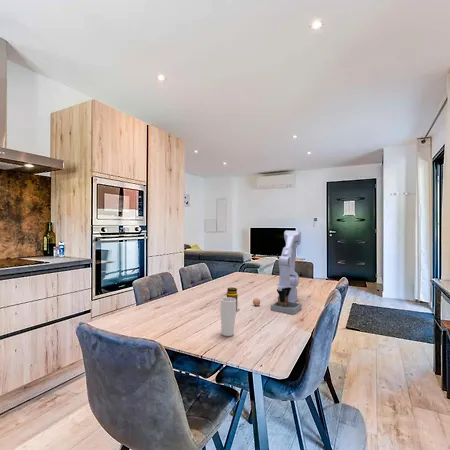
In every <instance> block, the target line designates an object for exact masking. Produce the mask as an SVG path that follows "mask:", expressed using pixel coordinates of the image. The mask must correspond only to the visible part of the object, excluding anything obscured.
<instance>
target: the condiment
mask: <svg viewBox="0 0 450 450" xmlns="http://www.w3.org/2000/svg"><path fill="white" fill-rule="evenodd" d="M238 294H239V293H238V289H237V288H236V287H228V288H227V292H226V297H230V298H235V299H236V312H238V311H239V310H241V309H240V308H238V296H239V295H238ZM226 297H225V298H226Z"/></svg>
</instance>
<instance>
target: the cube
mask: <svg viewBox="0 0 450 450" xmlns="http://www.w3.org/2000/svg"><path fill="white" fill-rule="evenodd" d="M277 301H278V305H283V306H286V305H288V296H285V301H284V302H280V298H279V295H278V296H277Z"/></svg>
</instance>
